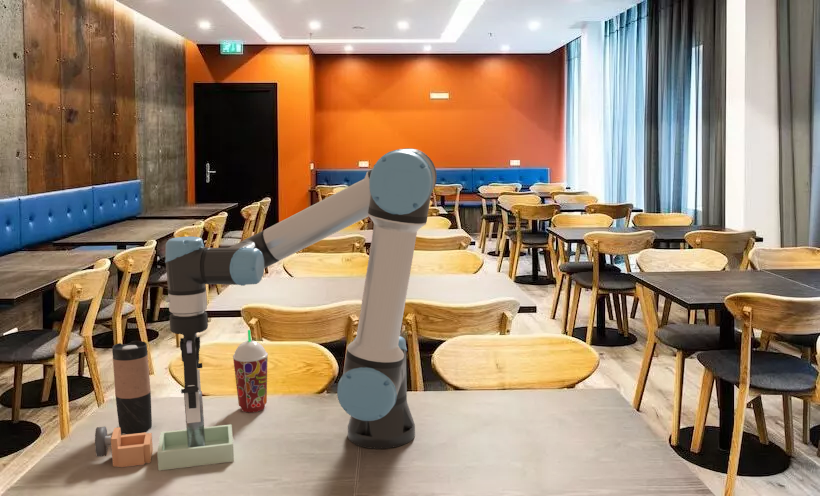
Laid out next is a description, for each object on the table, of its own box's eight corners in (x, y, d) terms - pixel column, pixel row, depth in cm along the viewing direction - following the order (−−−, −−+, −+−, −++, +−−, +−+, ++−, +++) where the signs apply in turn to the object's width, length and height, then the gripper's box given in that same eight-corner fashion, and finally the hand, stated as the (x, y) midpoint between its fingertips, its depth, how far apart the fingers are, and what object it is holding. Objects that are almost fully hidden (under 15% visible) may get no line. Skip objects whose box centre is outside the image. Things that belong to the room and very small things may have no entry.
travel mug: (141, 436, 172) (135, 350, 169) (111, 433, 174) (104, 349, 170) (159, 423, 180) (153, 341, 176) (129, 421, 181) (123, 339, 178)
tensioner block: (153, 449, 165) (150, 416, 164) (150, 463, 158) (148, 429, 157) (101, 455, 162) (98, 421, 161) (96, 470, 155) (93, 435, 154)
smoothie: (266, 414, 184) (262, 334, 181) (232, 415, 184) (227, 335, 181) (272, 402, 192) (269, 325, 189) (240, 402, 192) (236, 325, 189)
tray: (232, 440, 169) (231, 424, 168) (234, 461, 159) (233, 444, 158) (161, 448, 165) (160, 432, 165) (158, 470, 155) (157, 452, 154)
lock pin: (205, 446, 164) (201, 389, 162) (205, 453, 161) (201, 394, 158) (188, 448, 163) (184, 391, 161) (188, 455, 160) (183, 396, 158)
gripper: (172, 300, 168) (178, 391, 171) (165, 328, 144) (173, 434, 147) (207, 297, 170) (212, 388, 173) (206, 325, 146) (213, 430, 149)
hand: (194, 410), depth 160 cm, fingers open, 13 cm apart
